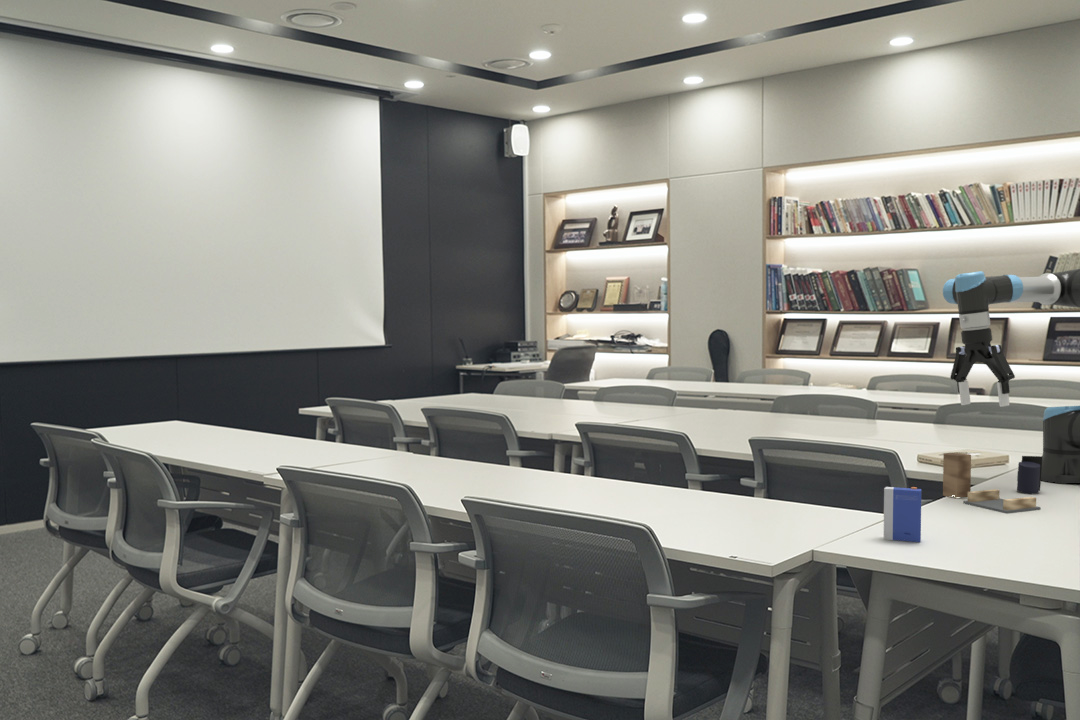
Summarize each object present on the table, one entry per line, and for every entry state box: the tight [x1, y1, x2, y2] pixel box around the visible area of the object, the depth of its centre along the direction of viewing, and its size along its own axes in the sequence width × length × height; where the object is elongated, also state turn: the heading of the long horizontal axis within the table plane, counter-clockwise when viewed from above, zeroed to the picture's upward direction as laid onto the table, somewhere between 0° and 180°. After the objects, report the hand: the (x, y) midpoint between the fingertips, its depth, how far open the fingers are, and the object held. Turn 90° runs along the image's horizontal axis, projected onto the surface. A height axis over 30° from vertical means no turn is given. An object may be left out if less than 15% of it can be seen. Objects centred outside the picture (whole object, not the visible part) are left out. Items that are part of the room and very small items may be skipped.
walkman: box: [883, 486, 922, 543], centre depth 210 cm, size 8×3×12 cm, turn 65°
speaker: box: [1016, 455, 1042, 495], centre depth 265 cm, size 8×6×10 cm
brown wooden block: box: [942, 452, 972, 498], centre depth 259 cm, size 5×5×12 cm
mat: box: [962, 497, 1041, 514], centre depth 246 cm, size 12×14×1 cm
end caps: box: [967, 488, 1037, 510], centre depth 246 cm, size 10×13×2 cm
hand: (984, 405), depth 253 cm, fingers open, 13 cm apart
